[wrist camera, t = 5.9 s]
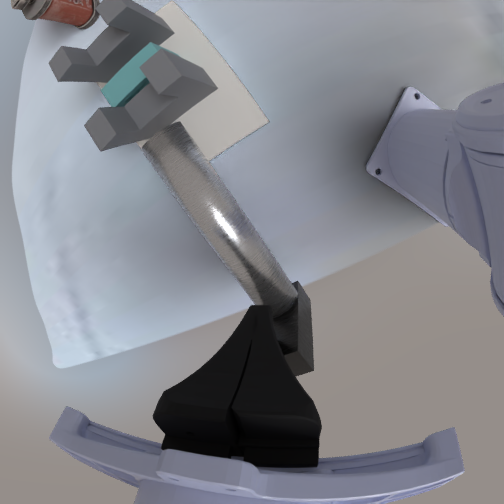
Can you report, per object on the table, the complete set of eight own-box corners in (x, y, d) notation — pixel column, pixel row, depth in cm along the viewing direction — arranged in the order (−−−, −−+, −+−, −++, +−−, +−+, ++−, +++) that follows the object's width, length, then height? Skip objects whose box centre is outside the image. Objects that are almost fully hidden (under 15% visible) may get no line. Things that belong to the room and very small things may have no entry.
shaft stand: (269, 121, 18) (257, 123, 11) (175, 185, 21) (123, 222, 14) (177, 4, 14) (127, -33, 7) (99, 74, 17) (32, 72, 10)
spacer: (191, 71, 16) (165, 60, 12) (145, 107, 17) (113, 109, 13) (178, 54, 15) (150, 41, 11) (134, 91, 17) (100, 90, 13)
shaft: (310, 299, 18) (314, 370, 13) (278, 313, 19) (271, 383, 14) (189, 120, 14) (132, 126, 8) (156, 146, 14) (93, 167, 9)
